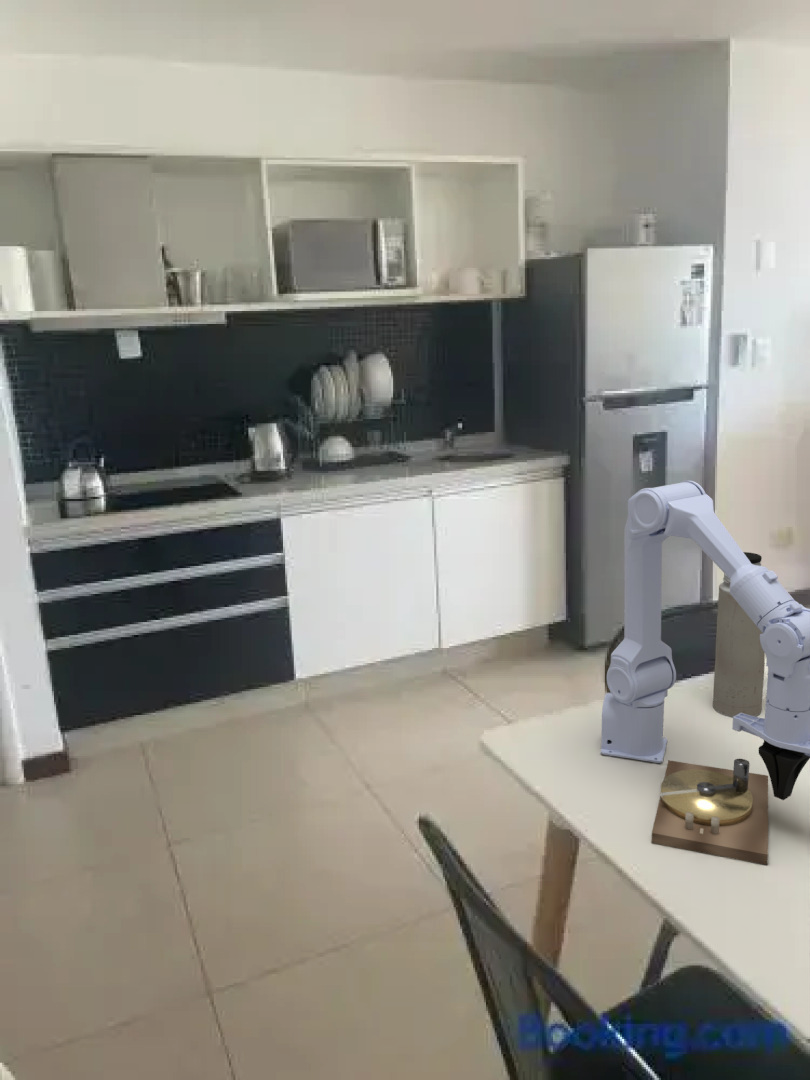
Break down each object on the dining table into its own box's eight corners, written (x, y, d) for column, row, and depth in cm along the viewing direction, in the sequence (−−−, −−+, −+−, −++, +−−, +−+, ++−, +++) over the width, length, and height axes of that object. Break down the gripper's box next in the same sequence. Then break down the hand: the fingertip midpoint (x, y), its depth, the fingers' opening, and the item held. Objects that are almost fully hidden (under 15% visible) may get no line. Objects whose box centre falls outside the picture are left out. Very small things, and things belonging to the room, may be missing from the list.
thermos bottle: (750, 697, 151) (760, 547, 144) (769, 717, 143) (780, 560, 136) (706, 699, 151) (713, 549, 144) (721, 719, 143) (730, 562, 136)
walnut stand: (651, 842, 110) (652, 819, 109) (668, 769, 128) (668, 748, 127) (767, 865, 105) (768, 840, 104) (767, 784, 123) (769, 763, 122)
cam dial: (643, 783, 121) (644, 749, 120) (725, 774, 123) (727, 741, 122) (680, 830, 110) (681, 794, 109) (769, 820, 111) (772, 784, 110)
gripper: (862, 711, 105) (852, 807, 109) (754, 676, 116) (749, 764, 120) (834, 729, 101) (824, 828, 104) (725, 691, 112) (720, 781, 116)
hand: (782, 795), depth 112 cm, fingers closed
